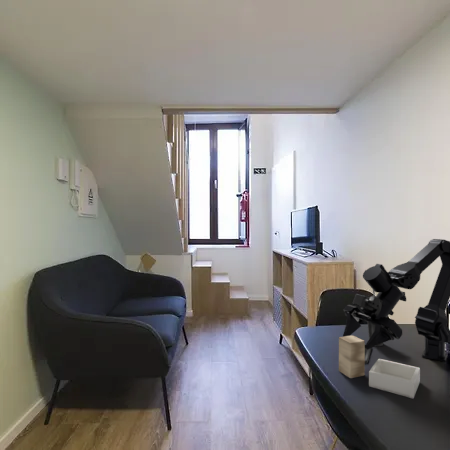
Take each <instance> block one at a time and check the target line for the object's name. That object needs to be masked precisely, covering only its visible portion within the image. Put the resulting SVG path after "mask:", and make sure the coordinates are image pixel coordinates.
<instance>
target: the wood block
mask: <svg viewBox="0 0 450 450" xmlns="http://www.w3.org/2000/svg"><path fill="white" fill-rule="evenodd" d="M365 345H366V343H365V340H364V339H361V338H359V337H357V336H356V335H353V334H351V335H350V336H344V337H343V336H339V337H338V372H340V373H341V374H343V375H345V376H346V377H347V378H349V379H353V378H358V377H364V376H365V370H366V369H365V367H366V366H365Z"/></svg>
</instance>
